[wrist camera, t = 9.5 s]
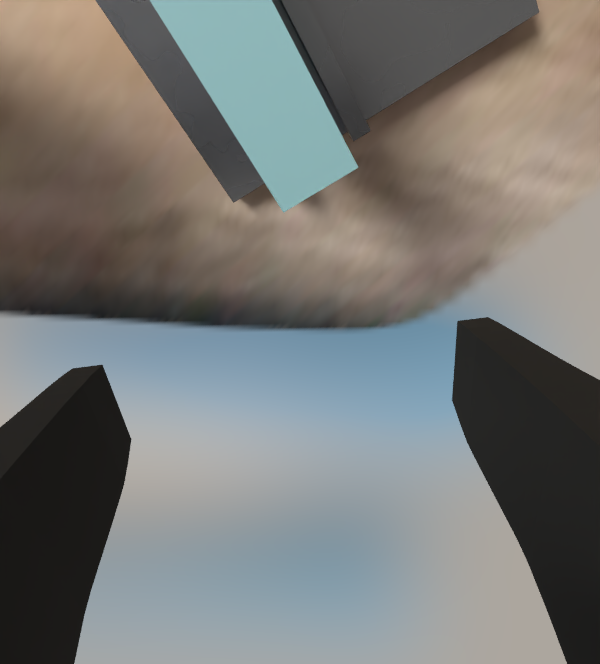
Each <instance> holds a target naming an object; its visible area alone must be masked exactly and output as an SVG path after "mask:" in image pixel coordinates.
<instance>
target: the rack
mask: <svg viewBox="0 0 600 664" xmlns="http://www.w3.org/2000/svg"><path fill="white" fill-rule="evenodd" d="M96 2H97V3H98V5H99V6H100V7H101V9H102V10H103V12H104V13H105V15H106V16H107V18H108V19H109V21H110V22H111V24H112V25H113V27H114V28H115V29H116V31H117V32H118V34H119V35H120V37H121V38H122V40H123V41H124V43H125V44H126V46H127V47H128V49H129V50H130V51H131V53H132V54H133V56H134V57H135V59H136V60H137V62H138V63H139V65H140V66H141V68H142V69H143V71H144V72H145V74H146V75H147V76H148V78H149V79H150V81H151V82H152V84H153V85H154V87H155V88H156V90H157V91H158V93H159V94H160V96H161V97H162V98H163V100H164V101H165V103H166V104H167V106H168V107H169V109H170V110H171V112H172V113H173V115H174V116H175V118H176V119H177V120H178V122H179V123H180V125H181V126H182V128H183V129H184V131H185V132H186V134H187V135H188V137H189V138H190V140H191V141H192V142H193V144H194V145H195V147H196V148H197V150H198V151H199V153H200V154H201V156H202V157H203V159H204V160H205V162H206V163H207V164H208V166H209V167H210V169H211V170H212V172H213V173H214V175H215V176H216V178H217V179H218V181H219V182H220V184H221V185H222V186H223V188H224V189H225V191H226V192H227V194H228V195H229V197H230V198H231V200H232V201H233V203H234V202H236V201H237V200H239V199H240V198H242V197H244V196H245V195H247V194H248V193H250V192H252V191H253V190H255V189H256V188H258V187H260V186H261V185H263V184H264V181H263V179H262V178H261V176H260V175H259V173H258V171H257V170H256V168H255V167H254V165H253V163H252V162H251V160H250V159H249V157H248V156H247V154H246V152H245V151H244V149H243V148H242V146H241V144H240V143H239V141H238V140H237V138H236V137H235V135H234V133H233V132H232V130H231V129H230V127H229V125H228V124H227V122H226V121H225V119H224V117H223V116H222V114H221V113H220V111H219V110H218V108H217V106H216V105H215V103H214V102H213V100H212V98H211V97H210V95H209V94H208V92H207V91H206V89H205V87H204V86H203V84H202V83H201V81H200V79H199V78H198V76H197V75H196V73H195V71H194V70H193V68H192V67H191V65H190V64H189V62H188V60H187V59H186V57H185V56H184V54H183V52H182V51H181V49H180V48H179V46H178V44H177V43H176V41H175V40H174V38H173V37H172V35H171V33H170V32H169V30H168V29H167V27H166V25H165V24H164V22H163V21H162V19H161V18H160V16H159V14H158V13H157V11H156V10H155V8H154V6H153V5H152V3H151V2H150V0H96ZM272 2H273V4H274V5H275V7H276V9H277V11H278V13H279V15H280V17H281V19H282V21H283V23H284V25H285V27H286V29H287V31H288V32H289V34H290V36H291V38H292V40H293V42H294V44H295V46H296V48H297V50H298V52H299V54H300V56H301V58H302V60H303V61H304V63H305V65H306V67H307V69H308V71H309V73H310V75H311V77H312V79H313V81H314V83H315V85H316V87H317V88H318V90H319V92H320V94H321V96H322V98H323V100H324V102H325V104H326V106H327V108H328V110H329V112H330V114H331V115H332V117H333V119H334V121H335V123H336V125H337V127H338V129H339V131H340V133H341V135H343V134H345V133H346V132H347V133H348V134H349V136H350V137H351V139H352V140H353V141H355V140H357V139H358V138H360V137H361V136H363V135H365V134H366V133H368V132H370V131H371V130H370V128H369V126H368V124H367V122H366V120H367V119H369V118H370V117H372V116H373V115H375V114H377V113H378V112H380V111H381V110H383V109H385V108H386V107H388V106H390V105H391V104H393V103H394V102H396V101H398V100H399V99H401V98H402V97H404V96H406V95H407V94H409V93H410V92H412V91H414V90H415V89H417V88H418V87H420V86H422V85H423V84H425V83H426V82H428V81H430V80H431V79H433V78H434V77H436V76H438V75H439V74H441V73H442V72H444V71H446V70H447V69H449V68H450V67H452V66H454V65H455V64H457V63H458V62H460V61H462V60H463V59H465V58H466V57H468V56H470V55H471V54H473V53H474V52H476V51H478V50H479V49H481V48H483V47H484V46H486V45H487V44H489V43H491V42H492V41H494V40H495V39H497V38H499V37H500V36H502V35H503V34H505V33H507V32H508V31H510V30H511V29H513V28H515V27H516V26H518V25H519V24H521V23H523V22H524V21H526V20H527V19H529V18H531V17H532V16H534V15H535V14H537V13H539V9H538V6H537V2H536V0H272Z"/></svg>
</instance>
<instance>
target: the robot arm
mask: <svg viewBox="0 0 600 664" xmlns="http://www.w3.org/2000/svg"><path fill="white" fill-rule="evenodd" d="M456 338H457V339H456V353H455V366H454V367H455V368H454V382H453V397H452V401H453V404H454V406H455V410H456V413H457V416H458V418H459V421H460V424H461V427H462V430H463V432H464V435H465V438H466V440H467V443H468V444H469V447H470V449H471V451H472V453H473V455H474V457H475V459H476V461H477V463H478V465H479V467H480V469H481V470H482V472H483V474H484V476H485V478H486V480H487V482H488V484H489V486H490V488H491V490H492V492H493V493H494V496H495V497H496V499H497V501H498V503H499V505H500V507H501V509H502V511H503V513H504V515H505V517H506V519H507V520H508V522H509V524H510V526H511V528H512V530H513V531H514V534H515V536H516V538H517V540H518V542H519V544H520V546H521V548H522V550H523V553H524V555H525V557H526V559H527V561H528V564H529V566H530V569H531V571H532V573H533V576H534V579H535V581H536V583H537V586H538V589H539V591H540V594H541V596H542V599H543V601H544V603H545V606H546V609H547V611H548V614H549V617H550V619H551V622H552V624H553V627H554V630H555V632H556V635H557V638H558V640H559V643H560V646H561V648H562V651H563V654H564V656H565V659H566V661H567V664H600V380H598V379H596V378H595V377H593V376H591V375H589V374H587V373H585V372H583V371H581V370H580V369H578V368H576V367H574V366H572V365H571V364H569V363H567V362H565V361H563V360H562V359H560V358H558V357H556V356H555V355H553V354H551V353H550V352H548V351H546V350H544V349H543V348H541V347H539V346H538V345H536V344H534V343H532V342H531V341H529V340H527V339H526V338H524V337H522V336H521V335H519V334H517V333H515V332H514V331H512V330H510V329H509V328H507V327H505V326H503V325H502V324H500V323H498V322H496V321H494V320H492V319H490V318H488V317H487V318H479V319H470V320H462V321H458V323H457V337H456ZM130 444H131V438H130V435H129V432H128V430H127V427H126V425H125V422H124V419H123V417H122V414H121V412H120V409H119V407H118V404H117V401H116V399H115V396H114V394H113V391H112V389H111V386H110V383H109V381H108V378H107V376H106V373H105V370H104V368H103V365H97V366H90V367H81V368H73V369H71V370H70V371H69V372H67V373H66V374H64V375H63V376H62V377H60V378H59V379H58V380H57V381H55V382H54V383H53V384H51V385H50V386H49V387H48V388H47V389H45V390H44V391H43V392H42V393H41V394H39V395H38V396H37V397H36V398H35V399H34V400H33V401H31V402H30V403H29V404H28V405H27V406H25V407H24V408H23V409H22V410H21V411H20V412H18V413H17V414H16V415H15V416H14V417H12V418H11V419H10V420H9V421H8V422H6V423H5V424H4V425H3V426H1V427H0V664H74V662H75V657H76V652H77V647H78V642H79V638H80V633H81V628H82V623H83V619H84V614H85V610H86V607H87V602H88V599H89V596H90V592H91V588H92V585H93V582H94V579H95V576H96V573H97V569H98V566H99V563H100V560H101V557H102V554H103V550H104V547H105V544H106V541H107V538H108V535H109V532H110V528H111V525H112V522H113V519H114V516H115V512H116V509H117V506H118V503H119V499H120V496H121V492H122V489H123V485H124V481H125V476H126V470H127V465H128V458H129V451H130Z"/></svg>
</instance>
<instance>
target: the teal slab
mask: <svg viewBox="0 0 600 664" xmlns="http://www.w3.org/2000/svg"><path fill="white" fill-rule="evenodd" d="M150 2H151V3H152V5H153V6H154V8H155V10H156V11H157V13H158V14H159V16H160V18H161V19H162V21H163V22H164V24H165V25H166V27H167V29H168V30H169V32H170V33H171V35H172V37H173V38H174V40H175V41H176V43H177V44H178V46H179V48H180V49H181V51H182V52H183V54H184V56H185V57H186V59H187V60H188V62H189V64H190V65H191V67H192V68H193V70H194V71H195V73H196V75H197V76H198V78H199V79H200V81H201V83H202V84H203V86H204V87H205V89H206V91H207V92H208V94H209V95H210V97H211V98H212V100H213V102H214V103H215V105H216V106H217V108H218V110H219V111H220V113H221V114H222V116H223V117H224V119H225V121H226V122H227V124H228V125H229V127H230V129H231V130H232V132H233V133H234V135H235V137H236V138H237V140H238V141H239V143H240V144H241V146H242V148H243V149H244V151H245V152H246V154H247V156H248V157H249V159H250V160H251V162H252V163H253V165H254V167H255V168H256V170H257V171H258V173H259V175H260V176H261V178H262V179H263V181H264V183H265V184H266V186H267V187H268V189H269V190H270V192H271V194H272V195H273V197H274V198H275V200H276V202H277V203H278V205H279V206H280V208H281V210H282V211H283V212H285V211H287V210H288V209H290V208H292V207H293V206H295V205H297V204H298V203H300V202H302V201H303V200H305V199H307V198H308V197H310V196H312V195H313V194H315V193H317V192H318V191H320V190H322V189H323V188H325V187H327V186H328V185H330V184H332V183H333V182H335V181H337V180H338V179H340V178H342V177H343V176H345V175H347V174H348V173H350V172H352V171H353V170H355V169H357V168H358V166H357V164H356V162H355V160H354V158H353V156H352V154H351V152H350V150H349V148H348V146H347V144H346V142H345V141H344V139H343V137H342V135H341V133H340V131H339V129H338V127H337V125H336V123H335V121H334V119H333V117H332V115H331V114H330V112H329V110H328V108H327V106H326V104H325V102H324V100H323V98H322V96H321V94H320V92H319V90H318V88H317V87H316V85H315V83H314V81H313V79H312V77H311V75H310V73H309V71H308V69H307V67H306V65H305V63H304V61H303V60H302V58H301V56H300V54H299V52H298V50H297V48H296V46H295V44H294V42H293V40H292V38H291V36H290V34H289V32H288V31H287V29H286V27H285V25H284V23H283V21H282V19H281V17H280V15H279V13H278V11H277V9H276V7H275V5H274V4H273V2H272V0H150Z"/></svg>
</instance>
